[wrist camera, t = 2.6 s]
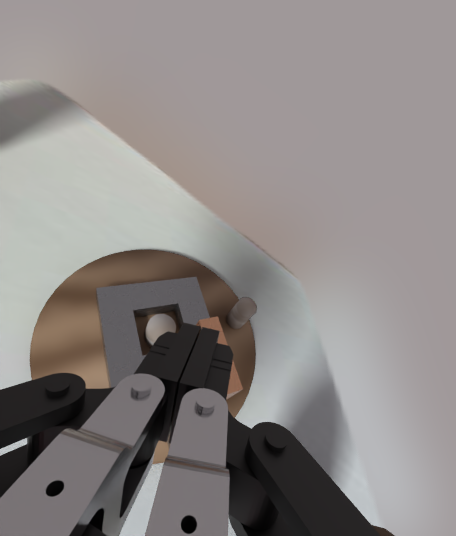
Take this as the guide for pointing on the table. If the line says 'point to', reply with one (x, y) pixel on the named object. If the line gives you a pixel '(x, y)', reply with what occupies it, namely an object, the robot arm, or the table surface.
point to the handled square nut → (143, 304)
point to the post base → (148, 327)
